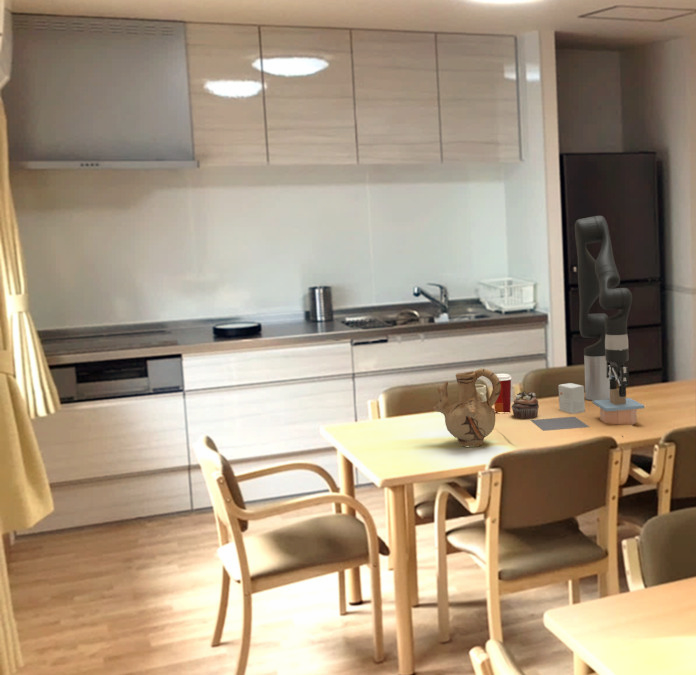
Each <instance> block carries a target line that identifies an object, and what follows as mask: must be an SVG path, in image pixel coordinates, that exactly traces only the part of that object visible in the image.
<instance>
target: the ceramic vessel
mask: <svg viewBox="0 0 696 675" xmlns="http://www.w3.org/2000/svg"><path fill="white" fill-rule="evenodd" d="M481 377H485V378H486V379H488V380H489V382H490V383H491V386H492V385H493V387H492V391H491V394H490V396H489V398H488V399H487V401H485V402H482V398H481V397H480V395H479V393H478V392H477V391H476V387H475V385H476V382H477V380H478V379H479V378H481ZM455 378H456V383H457V389H458V396H457V397H458V399H457V401H456V402H455V403H452V402H451V401H450V398H449V395H448V385H449V381H445V383H444V384H443V385H440V386H438V388H437V393H438V394H439V400H438V403H437V404H435V406H434V407H432V410H433V411H434V412H437V413H441V415H443V416H444V421H445V427H446V429H447V431H448V432H449V433H450V434H451V436H453V437H454V438H455V439H457V443H458V444H459V445H460V446H461V445H462V446H461V447H463V446H469V447H468V448H471V447H470V446H477V447H479V446H478V445H481V446H483V445H484V444H485V438H486V437H488V436H490V434H491V433H492V432H493V430H494V429H495V426H496V412H495V408H493V406H494V403H495V402H496V400H497V398H498V396H499V394H500V390H501V384H500V381H499V379H498V377H497V376H496V375H495V372H493V371H492V370H489V369H487V368H478V369H476V370H471V371H464V372H458V373H455ZM482 444H483V445H482Z"/></svg>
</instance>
